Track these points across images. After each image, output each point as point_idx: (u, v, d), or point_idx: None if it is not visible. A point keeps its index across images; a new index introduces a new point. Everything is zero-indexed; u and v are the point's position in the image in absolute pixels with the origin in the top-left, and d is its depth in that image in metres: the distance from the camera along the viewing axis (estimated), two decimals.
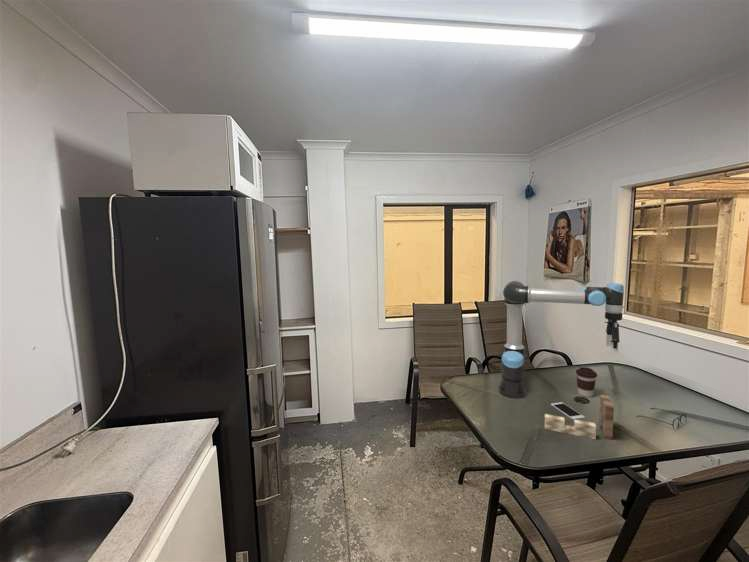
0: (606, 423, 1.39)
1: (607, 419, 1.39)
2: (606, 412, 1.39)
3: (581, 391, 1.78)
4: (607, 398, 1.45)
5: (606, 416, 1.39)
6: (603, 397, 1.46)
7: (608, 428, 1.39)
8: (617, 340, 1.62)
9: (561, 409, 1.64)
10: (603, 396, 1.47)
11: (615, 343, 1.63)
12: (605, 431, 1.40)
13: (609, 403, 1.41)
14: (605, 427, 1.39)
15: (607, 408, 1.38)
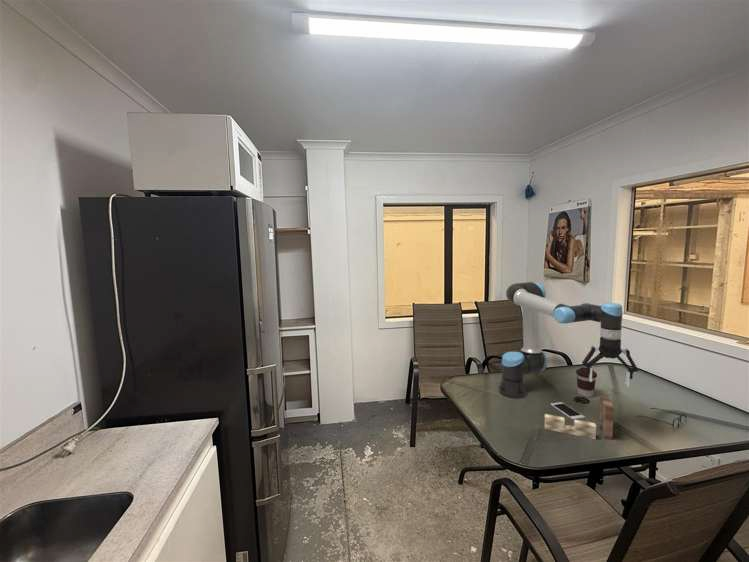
0: (606, 423, 1.39)
1: (607, 419, 1.39)
2: (606, 412, 1.39)
3: (581, 391, 1.78)
4: (607, 398, 1.45)
5: (606, 416, 1.39)
6: (603, 397, 1.46)
7: (608, 428, 1.39)
8: (583, 362, 1.45)
9: (561, 409, 1.64)
10: (603, 396, 1.48)
11: None
12: (605, 431, 1.40)
13: (609, 403, 1.41)
14: (605, 427, 1.39)
15: (607, 408, 1.38)
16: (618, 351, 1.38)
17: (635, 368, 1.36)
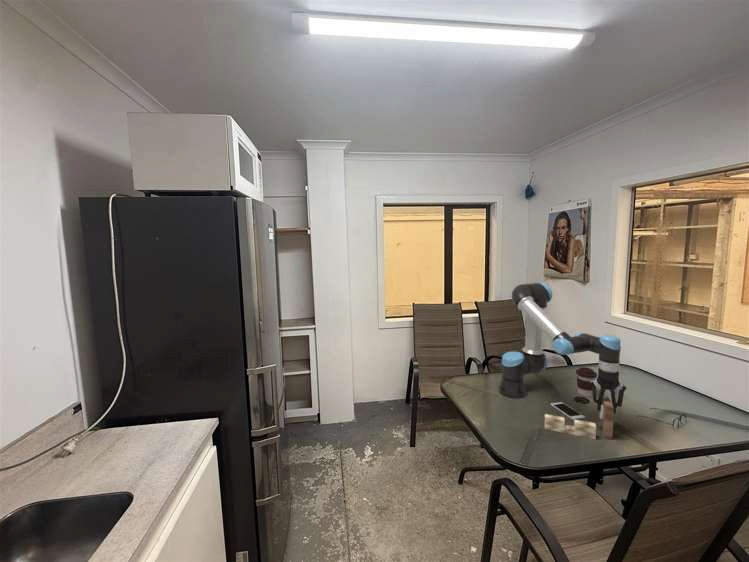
0: (606, 423, 1.39)
1: (607, 419, 1.39)
2: (606, 412, 1.39)
3: (581, 391, 1.78)
4: (607, 398, 1.45)
5: (606, 416, 1.39)
6: (603, 397, 1.46)
7: (608, 428, 1.39)
8: None
9: (561, 409, 1.64)
10: (603, 396, 1.47)
11: (597, 404, 1.45)
12: (605, 431, 1.40)
13: (609, 403, 1.41)
14: (605, 427, 1.39)
15: (607, 408, 1.38)
16: (616, 383, 1.40)
17: (620, 403, 1.40)
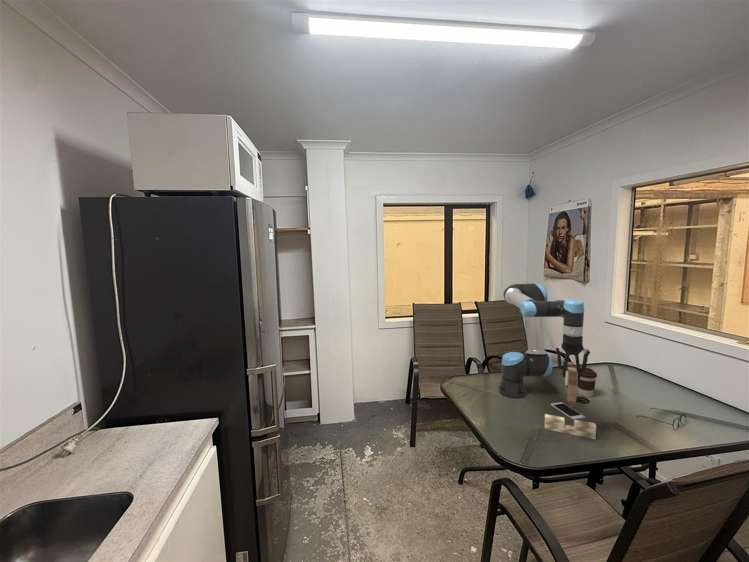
0: (570, 388, 1.37)
1: (571, 384, 1.37)
2: (570, 377, 1.37)
3: (581, 391, 1.78)
4: (572, 364, 1.44)
5: (570, 381, 1.37)
6: (568, 363, 1.45)
7: (572, 393, 1.37)
8: None
9: (561, 409, 1.64)
10: (569, 362, 1.46)
11: None
12: (569, 396, 1.38)
13: (573, 368, 1.39)
14: (569, 392, 1.38)
15: (570, 373, 1.37)
16: (580, 348, 1.38)
17: (584, 368, 1.38)
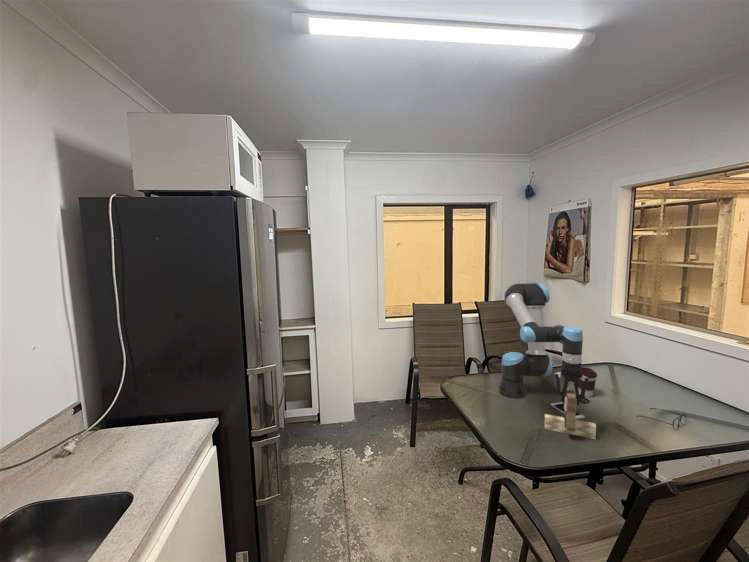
0: (569, 415, 1.39)
1: (570, 411, 1.39)
2: (568, 404, 1.38)
3: None
4: (571, 390, 1.45)
5: (569, 408, 1.39)
6: (567, 389, 1.46)
7: (571, 420, 1.39)
8: (558, 391, 1.45)
9: (561, 409, 1.64)
10: (568, 388, 1.47)
11: None
12: (568, 423, 1.39)
13: (572, 395, 1.41)
14: (568, 419, 1.39)
15: (569, 400, 1.38)
16: (579, 375, 1.40)
17: (582, 395, 1.40)
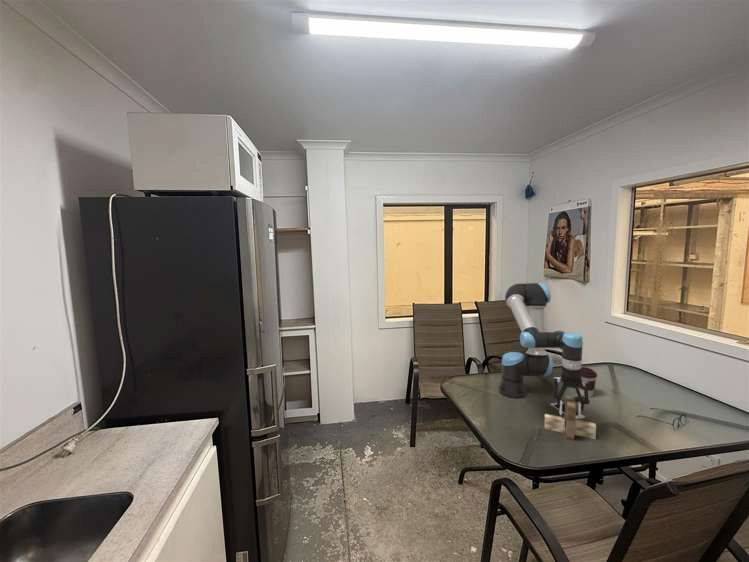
0: (568, 424, 1.40)
1: (569, 420, 1.39)
2: (568, 413, 1.39)
3: (581, 391, 1.78)
4: (571, 399, 1.46)
5: (568, 417, 1.39)
6: (568, 398, 1.47)
7: (570, 429, 1.39)
8: (553, 395, 1.46)
9: None
10: (568, 396, 1.48)
11: None
12: (567, 431, 1.40)
13: (572, 404, 1.41)
14: (567, 428, 1.40)
15: (569, 409, 1.39)
16: (578, 381, 1.40)
17: (586, 401, 1.39)
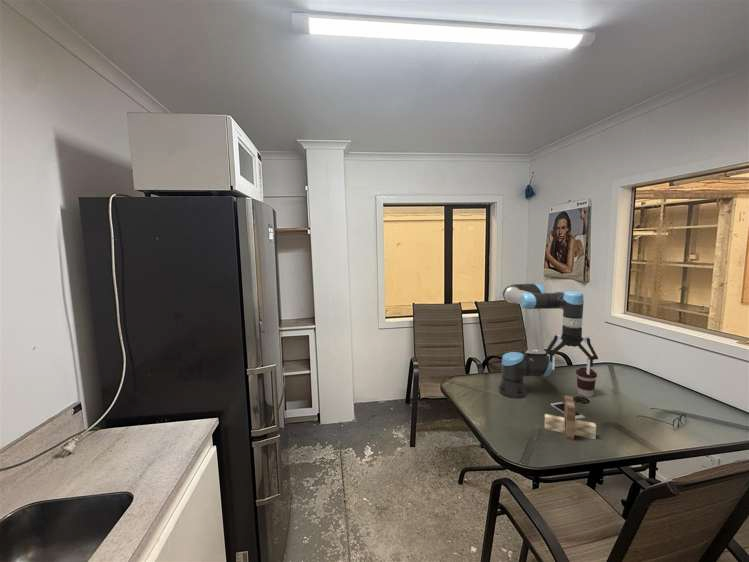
0: (568, 424, 1.40)
1: (569, 420, 1.39)
2: (568, 413, 1.39)
3: (581, 391, 1.78)
4: (571, 399, 1.46)
5: (568, 417, 1.39)
6: (567, 398, 1.47)
7: (570, 429, 1.39)
8: (546, 351, 1.47)
9: (561, 409, 1.64)
10: (567, 396, 1.48)
11: None
12: (567, 432, 1.40)
13: (571, 404, 1.41)
14: (567, 428, 1.40)
15: (569, 409, 1.39)
16: (579, 339, 1.39)
17: (595, 356, 1.37)
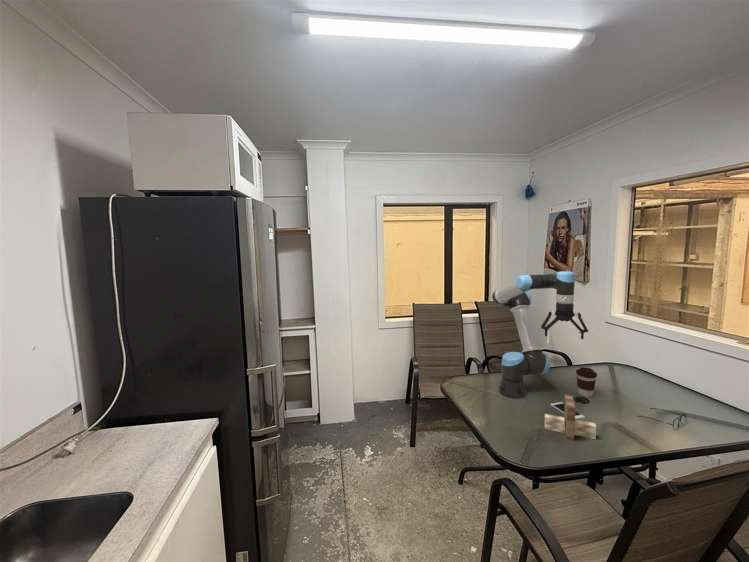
0: (568, 424, 1.40)
1: (569, 420, 1.39)
2: (568, 413, 1.39)
3: (581, 391, 1.78)
4: (571, 399, 1.46)
5: (568, 417, 1.39)
6: (567, 398, 1.47)
7: (570, 429, 1.39)
8: (541, 326, 1.61)
9: (561, 409, 1.64)
10: (567, 396, 1.48)
11: None
12: (567, 432, 1.40)
13: (571, 404, 1.41)
14: (567, 428, 1.40)
15: (569, 409, 1.39)
16: (571, 314, 1.54)
17: (585, 329, 1.52)
